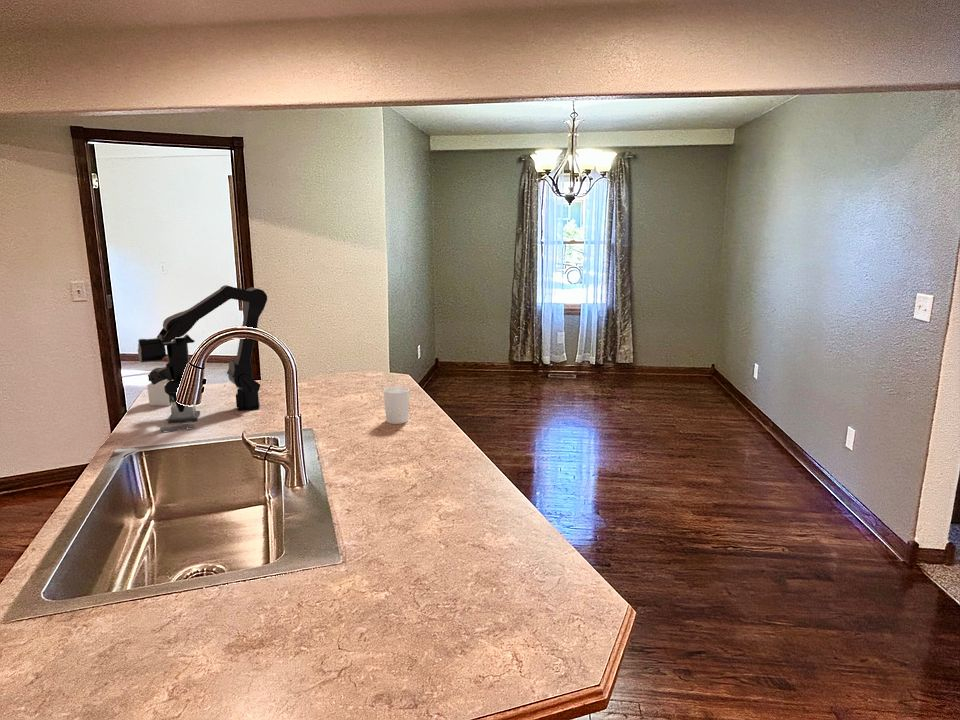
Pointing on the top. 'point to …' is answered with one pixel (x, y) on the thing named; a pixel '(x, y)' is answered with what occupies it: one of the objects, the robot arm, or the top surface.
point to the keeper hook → (184, 418)
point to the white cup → (396, 404)
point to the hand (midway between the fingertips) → (183, 407)
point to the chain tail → (177, 427)
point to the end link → (186, 413)
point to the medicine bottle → (159, 393)
